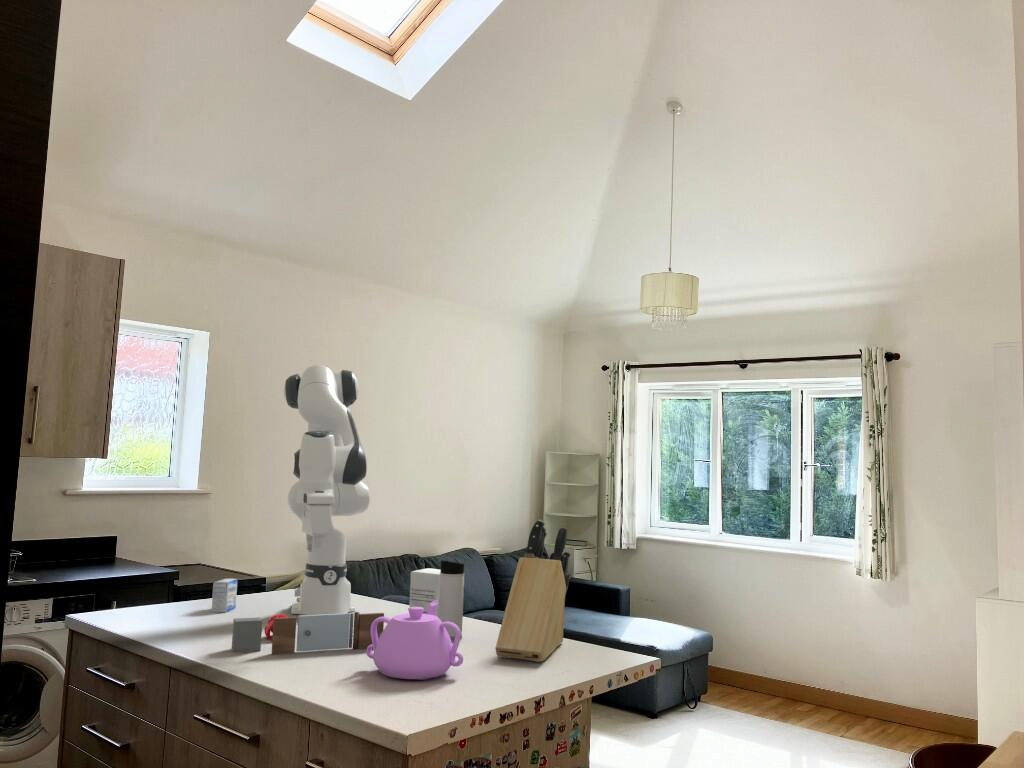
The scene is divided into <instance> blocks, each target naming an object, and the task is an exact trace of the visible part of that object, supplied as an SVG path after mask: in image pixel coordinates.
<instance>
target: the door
mask: <svg viewBox="0 0 1024 768" xmlns="http://www.w3.org/2000/svg"><path fill="white" fill-rule="evenodd" d="M353 631H354V612H348V613H342V614H321V615H303V614H299V615H298V616H297V631H296V632H297V633H296V637H297V638H296V648H295V650H296V652H299V653H300V652H310V651H311V652H312V651H327V650H339V649H340V650H342V649H344V650H345V649H353Z"/></svg>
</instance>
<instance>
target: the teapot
mask: <svg viewBox="0 0 1024 768" xmlns="http://www.w3.org/2000/svg"><path fill="white" fill-rule="evenodd" d="M437 605H438V600H434V601H432V602H431V603H430V605H429V608H428V611H427V614H423V611H424V608H422V607H410V608H409V607H408V608H407V611H408V613H403V614H402V613H401V614H396V615H394V616H392V618H390V617H388V616H384V617H379V618H377V619H375V620H374V621H373V622H372V624H371V638H372V643H373V645H369V646H368V647H367V648H366V651H365V652H366V653H365V654H366V656H367V657H369V659H373V662H374V663H373V664H374V665H375V667H376V668H377V669H378V671H379V672H380V673H381V674H382V675H384V676H387V677H389V678H394V679H401V680H402V679H403V680H417V681H418V680H419V681H425V680H426V681H427V680H429V679H432V678H437V677H441V676H442V675H445V674H446V672H447V671H448V670H449V669H450V668H451V667H459V666H461V665H462V664H463V663H464V656H463V654H462V653H461V652H457V651H458V649H459V645H460V641H461V639H460V637H461V632H460V629H459V627H458V626H457V625H456V624H454V623H452V622H443V623H442V622H441V620H440V619H439V618H438V617H437V616H436V609H437ZM379 622H384V623H386V626H384V628H383V632H382V633H381V635H380V637H379V639H378V636H377V624H378V623H379ZM445 627H450V628H452V629H453V630H454V633H455V639H454V641H451V639H450V637H449V634H448V632H447V630H446V629H445ZM372 649H373V650H372ZM456 657H457V658H458V660H456Z"/></svg>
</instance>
